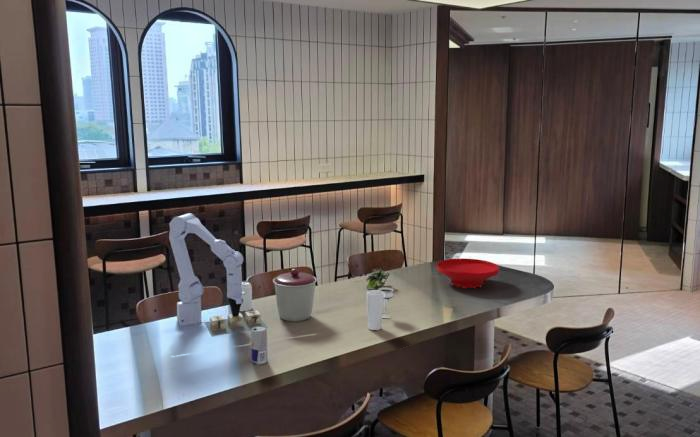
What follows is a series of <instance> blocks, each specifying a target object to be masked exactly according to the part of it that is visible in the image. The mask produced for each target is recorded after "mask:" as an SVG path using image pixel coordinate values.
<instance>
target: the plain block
mask: <svg viewBox="0 0 700 437" xmlns="http://www.w3.org/2000/svg"><path fill="white" fill-rule="evenodd" d="M243 317H244V316H243V314H242V313H241V312H239V316H233V315H232V313H230V314H229V313H228V314H227V319H228V324H229V326H230V328H235V327H242V326H243Z"/></svg>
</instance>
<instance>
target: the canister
mask: <svg viewBox="0 0 700 437" xmlns="http://www.w3.org/2000/svg"><path fill="white" fill-rule="evenodd" d="M317 281H318V279H317V278H316V277H315V276H313V275H312V274H310V273H307V272H300V270H299V269H298V268H292V269H291V270H290V272H286V273H281V274H279V275H277V276H276V277H274V278H273V279H272V283H273V284H274V291H275V298H276V306H277V311H278V316H280V317H279V318H281V319H282V320H283V321H286V322H293V323H294V322H302V321H306V320H308V319H309V318H310V317H311V315H312V312H313V306H314V298H315V290H316V289H315V288H316V283H317Z"/></svg>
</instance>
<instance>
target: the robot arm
mask: <svg viewBox="0 0 700 437" xmlns="http://www.w3.org/2000/svg"><path fill="white" fill-rule="evenodd" d="M168 225H169V233H168V234H169V235H168V239H169V243H170V245H171V250H172V253H173V256H174V257H173V258H174V260H175V264H176V268H177V271H178V275H179V278H180V280H179V283H178V285H177V286H178V287H177V288H178V298H179V300H180V301H177V302H176V320H177V322H178V324H179V326H180V327H181V326H186V325H187V326H188V325H194V324H202V323H204V322H205V321H204V319H203V317H202V300H201V299H202V295H203V294H204V287H203V284H202V283H201V282H200V279H199V278H198V276H196V275H195V273H194V270H193V266H192V262H191V258H190V255H189V251H188V248H187V244H186V241H185V237H186V236H188V235H187V234H195V236H198V237H199V238H200V239H202V241H204V242H205V243H206V244H208V245H209V246H210V250H211V252H212V253H213V254H214V255H216V256H217V257H218V258H219V259H220V260H221V261H223V266H224V268H225V270H226V289H227V290H226V292H227V293H226V297H227V298H226V300H227V302H228V305H229V306H230V311H231V314H232V315H233V316H239V313H240V312H241V311H240V307H241V304H242V302H243V299H242V296H243V295H245V292H242V281H243V278H242V276H243V274H242V264H243V262H244V259H245V258H244V256H243V254H242V253H241V252H240V251H237V250H236V251H235V248H233V249H232V247H230V246H229V245H228V244H227V242H226V240H222V239H217V238H216V237H215V236H214V235H213V234H212V233H211V232H210V231H209V230H208V229H207V228H206V226H204V225H203V224H202V223H201V220H200V219H199V218H198V217H196V216H195V215H194V214H193V213H190V212H189V213H185V214H182V215H179V216H174V217H173V218H172V219H171V221H170V222H169V223H168Z"/></svg>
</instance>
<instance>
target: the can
mask: <svg viewBox="0 0 700 437" xmlns="http://www.w3.org/2000/svg"><path fill="white" fill-rule="evenodd" d="M242 292H245V295H243V296H242V299H243V302H242V304H241V307H240V311H239V312H249V311H252V309H253V289H252V284H251V282H250V281H248V280H247V281H246V280H242Z"/></svg>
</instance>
